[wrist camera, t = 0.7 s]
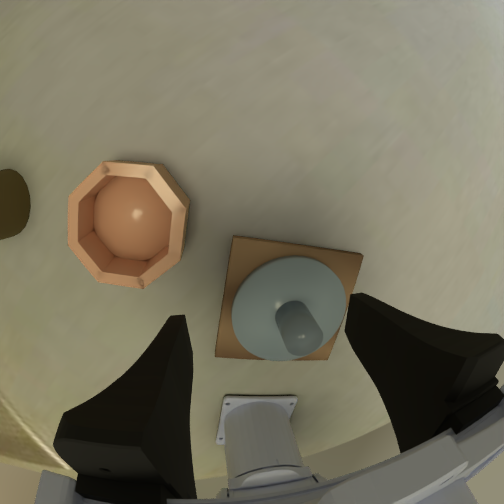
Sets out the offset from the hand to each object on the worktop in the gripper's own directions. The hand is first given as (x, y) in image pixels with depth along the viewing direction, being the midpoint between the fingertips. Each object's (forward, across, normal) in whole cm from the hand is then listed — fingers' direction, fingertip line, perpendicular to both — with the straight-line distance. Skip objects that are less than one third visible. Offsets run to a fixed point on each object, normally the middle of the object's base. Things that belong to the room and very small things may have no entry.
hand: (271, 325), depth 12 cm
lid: (+10, -3, +6) cm, 12 cm away
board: (+10, -3, +6) cm, 12 cm away
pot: (+11, +8, -3) cm, 14 cm away
